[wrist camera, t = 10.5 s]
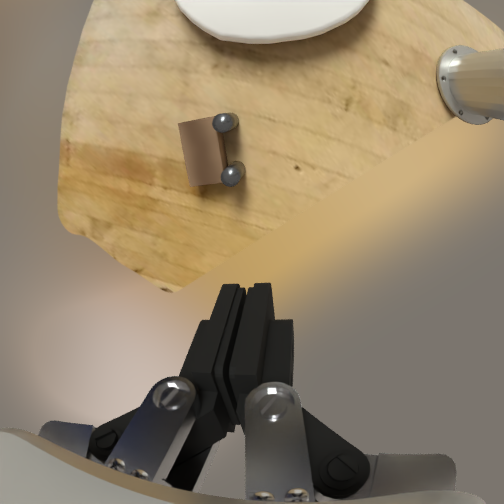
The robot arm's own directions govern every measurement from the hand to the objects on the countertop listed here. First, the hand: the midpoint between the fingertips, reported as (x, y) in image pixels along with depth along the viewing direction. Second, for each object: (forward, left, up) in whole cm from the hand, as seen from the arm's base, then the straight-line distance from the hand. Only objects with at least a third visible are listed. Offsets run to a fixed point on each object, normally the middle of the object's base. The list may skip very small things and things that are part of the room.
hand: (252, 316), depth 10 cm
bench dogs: (+6, -2, -32) cm, 33 cm away
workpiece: (+10, -2, -32) cm, 34 cm away
